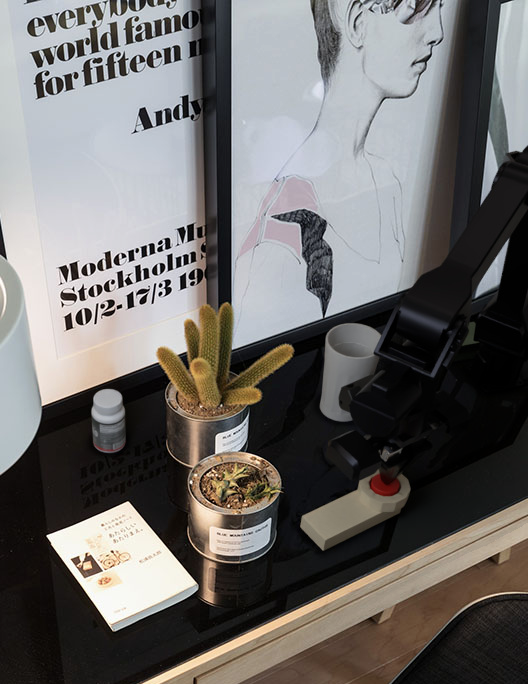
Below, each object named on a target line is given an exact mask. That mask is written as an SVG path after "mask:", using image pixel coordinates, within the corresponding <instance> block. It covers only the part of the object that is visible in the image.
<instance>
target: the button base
mask: <svg viewBox="0 0 528 684" xmlns="http://www.w3.org/2000/svg"><path fill="white" fill-rule="evenodd" d="M377 474H380V473H379V469H378V470H377V471H376V473H375V474H373V475H371V476H369V477H366V478H364V479H362V480H360V481H358V486H357V489H356V490H354V491H351V492H349V493H347V494H345V495H343V496H340V497H339V498H337V499H335V500H333V501H330V502H328V503H326V504H325V505H322V506H320V507H318V508H315V509H314V510H312V511H310V512H308V513H305V514H303V515H302V516H301V519H300V521H301V522H300V526H299V527H300V528H301V530H302V531H303V532H304V533H305V534H306V535H308V537H309V538H310V539H311V540H312V541H313V542H314V543H315V544H316V545H317V546H318V547H319V548H320V549H321V550H322V551H323V552H324V551H327V550H328V549H330V548H333V547H334V546H336V545H338V544H340V543H342V542H344V541H346V540H348V539H350V538H352V537H354V536H356V535H358V534H360V533H362V532H365V531H366V530H368V529H370V528H372V527H374V526H376V525H378V524H380V523H382V522H384V521H386V520H388V519H391V518H393V517H395V516H396V515H399V514H400V513H401V511H402V508H404V507H405V505H406V503H407V501H408V499H409V496H410V492H411V485H410V482H409V479H408V478H407V477H406V476H405V475H404V474H403V473H402V474H401V475H400V476H398V477H397V479H398V481H399V489H398V492H397V494H396V495H394V496H381V495H378V494H376V493H374V492H373V491H372V490H371V489H370V486H371V482H372V479H373V477H374V476H375V475H377Z"/></svg>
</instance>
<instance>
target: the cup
mask: <svg viewBox="0 0 528 684" xmlns="http://www.w3.org/2000/svg"><path fill="white" fill-rule="evenodd" d="M381 335H382V334H381V333H380V332H379V331H377V330H376V329H375V328H373V327H371V326H370V325H369V326H368V325H365V324H363V323H355V322H351V323H350V322H348V323H342V324H338V325H336V326H333V327H332V328H331V329H330V330H329V331H328V332H327V333H326V335H325V344H324V365H323V375H322V385H321V386H322V388H321V396H320V403H319V409H320V411H321V413H322V414H323V415H324V416H325V417H327V418H328V419H331V420H332V421H336V422H351V421H353V420H352V417H351V415H350V413H349V412H347V411H344V410H342V409H341V408H340V406H339V399H338V397H339V393H340V390H341V387H343V386H345V385H348V384H350V383H352V382H355V381H357V380H359V379H362V378H364V377H366V376H369V375H373V374H375V373H376V369H377V366H378V364H379V361H380V358H381V357H378V356H376V355H374V354H373V352H374V350H375V348H376V346H377V344H378V341H379V339H380V337H381Z"/></svg>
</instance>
